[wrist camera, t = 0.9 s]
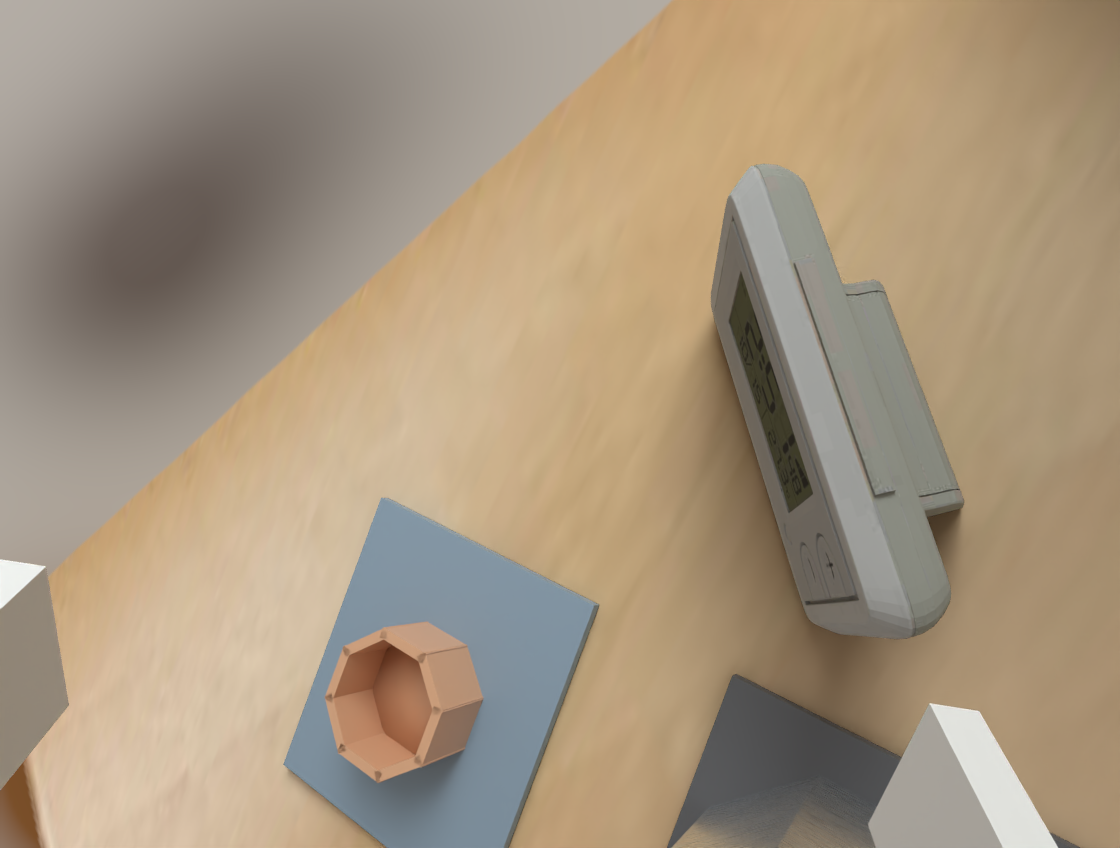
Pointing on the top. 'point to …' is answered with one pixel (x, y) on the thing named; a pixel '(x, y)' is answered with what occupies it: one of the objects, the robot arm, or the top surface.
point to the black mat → (781, 754)
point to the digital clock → (831, 416)
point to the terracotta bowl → (402, 699)
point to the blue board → (501, 668)
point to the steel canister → (786, 819)
